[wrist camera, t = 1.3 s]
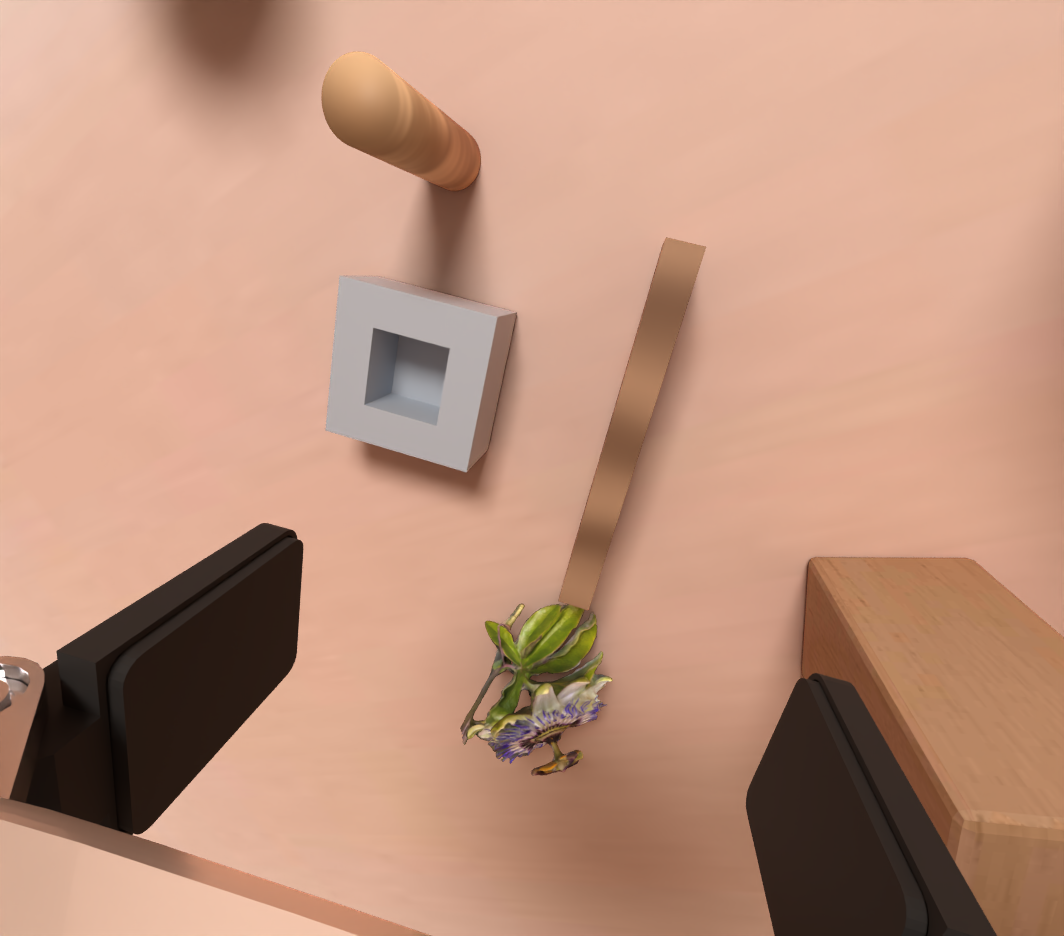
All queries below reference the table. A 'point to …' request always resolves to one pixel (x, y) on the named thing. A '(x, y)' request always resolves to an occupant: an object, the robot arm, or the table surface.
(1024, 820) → the wooden block
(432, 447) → the socket block
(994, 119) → the table surface
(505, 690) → the passion flower
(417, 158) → the oak dowel
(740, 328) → the table surface
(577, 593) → the walnut wall
